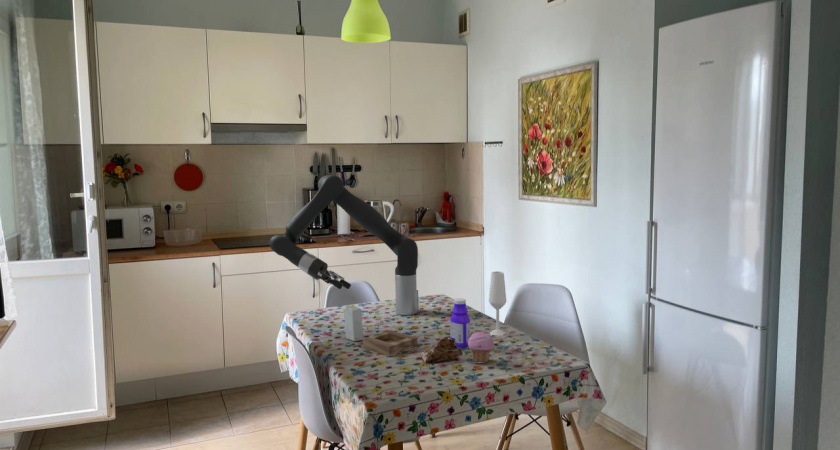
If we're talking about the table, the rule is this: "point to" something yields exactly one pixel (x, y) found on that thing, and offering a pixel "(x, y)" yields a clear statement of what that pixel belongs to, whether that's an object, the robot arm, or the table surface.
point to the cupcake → (480, 346)
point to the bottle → (460, 324)
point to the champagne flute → (497, 297)
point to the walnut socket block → (389, 343)
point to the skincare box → (353, 323)
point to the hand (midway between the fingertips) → (345, 287)
